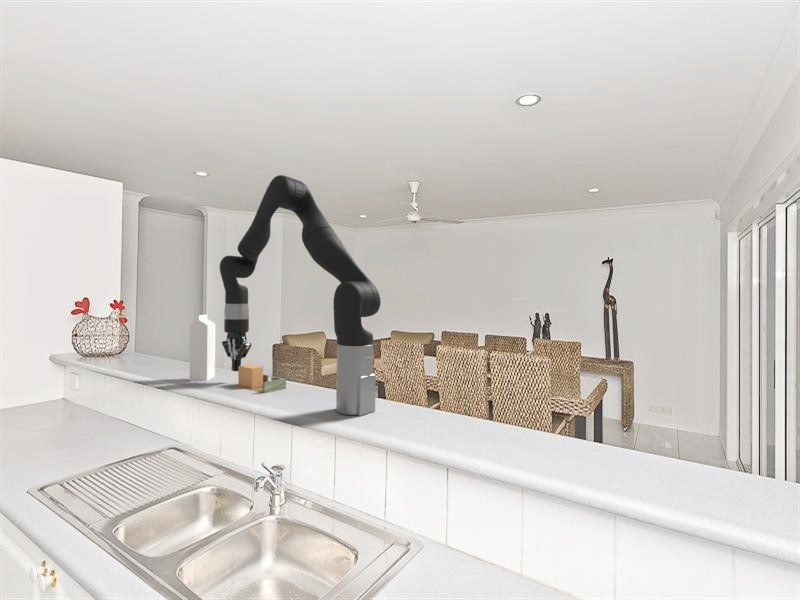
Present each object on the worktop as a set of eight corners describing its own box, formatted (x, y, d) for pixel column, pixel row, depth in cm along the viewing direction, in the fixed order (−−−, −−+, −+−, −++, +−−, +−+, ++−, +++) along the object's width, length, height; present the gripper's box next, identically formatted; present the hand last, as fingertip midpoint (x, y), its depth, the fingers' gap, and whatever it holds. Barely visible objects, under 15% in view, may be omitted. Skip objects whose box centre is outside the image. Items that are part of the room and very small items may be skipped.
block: (262, 385, 141) (263, 366, 141) (252, 388, 138) (252, 368, 137) (249, 383, 145) (249, 364, 145) (238, 384, 142) (238, 366, 141)
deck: (286, 390, 138) (286, 378, 138) (264, 394, 131) (264, 382, 131) (253, 383, 147) (253, 372, 147) (231, 387, 140) (231, 376, 140)
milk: (189, 381, 148) (189, 315, 148) (198, 377, 155) (198, 314, 154) (207, 381, 148) (207, 315, 148) (215, 378, 154) (215, 314, 154)
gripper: (259, 318, 144) (258, 371, 145) (234, 316, 152) (234, 367, 152) (239, 319, 138) (238, 374, 139) (214, 317, 146) (213, 370, 146)
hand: (236, 370), depth 145 cm, fingers closed
